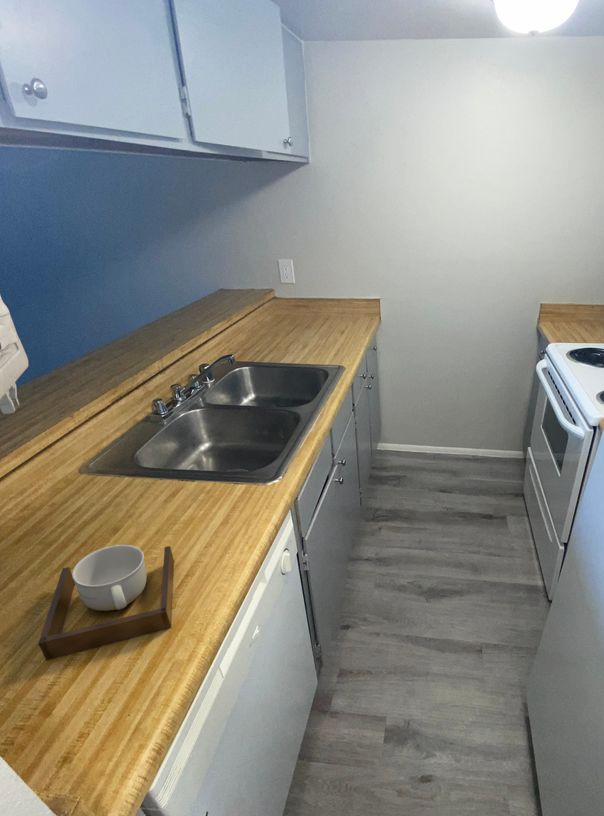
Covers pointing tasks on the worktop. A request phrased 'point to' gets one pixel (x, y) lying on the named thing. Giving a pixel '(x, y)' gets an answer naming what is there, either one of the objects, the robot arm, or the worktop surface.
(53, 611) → the dish corral
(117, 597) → the teacup
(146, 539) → the worktop surface
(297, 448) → the worktop surface
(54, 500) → the worktop surface
